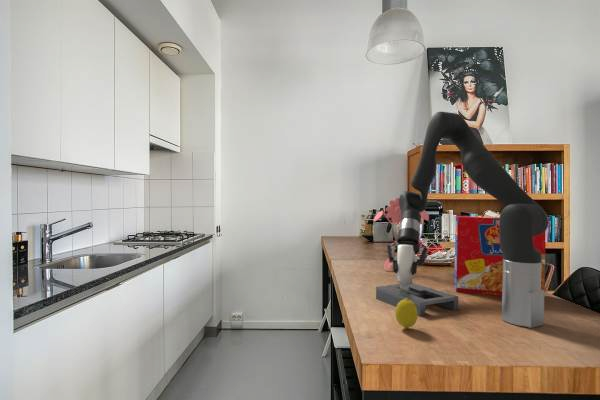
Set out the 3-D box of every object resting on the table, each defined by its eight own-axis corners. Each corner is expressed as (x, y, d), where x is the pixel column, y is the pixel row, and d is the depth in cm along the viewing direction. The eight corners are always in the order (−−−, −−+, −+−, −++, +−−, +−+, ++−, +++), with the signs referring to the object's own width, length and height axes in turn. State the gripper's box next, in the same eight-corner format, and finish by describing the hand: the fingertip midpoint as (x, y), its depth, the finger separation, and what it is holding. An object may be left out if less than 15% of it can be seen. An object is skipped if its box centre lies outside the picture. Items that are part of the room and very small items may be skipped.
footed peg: (417, 299, 119) (418, 246, 119) (403, 301, 116) (404, 247, 116) (404, 295, 124) (405, 244, 124) (391, 297, 122) (392, 244, 122)
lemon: (400, 323, 97) (401, 294, 97) (420, 328, 93) (421, 298, 93) (391, 329, 93) (392, 298, 93) (412, 334, 89) (412, 302, 89)
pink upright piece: (375, 267, 177) (376, 197, 177) (429, 273, 165) (431, 198, 164) (365, 273, 164) (367, 197, 163) (424, 280, 152) (426, 198, 151)
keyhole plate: (458, 309, 110) (458, 296, 110) (420, 316, 103) (420, 302, 103) (411, 293, 128) (411, 282, 128) (376, 298, 121) (376, 286, 121)
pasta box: (456, 292, 132) (457, 216, 132) (454, 287, 139) (455, 216, 139) (544, 300, 123) (545, 219, 123) (537, 294, 131) (538, 218, 131)
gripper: (387, 225, 130) (381, 264, 119) (429, 227, 124) (426, 268, 113) (390, 239, 135) (383, 276, 124) (430, 241, 129) (427, 281, 118)
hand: (404, 272), depth 119 cm, fingers closed on footed peg, 5 cm apart
